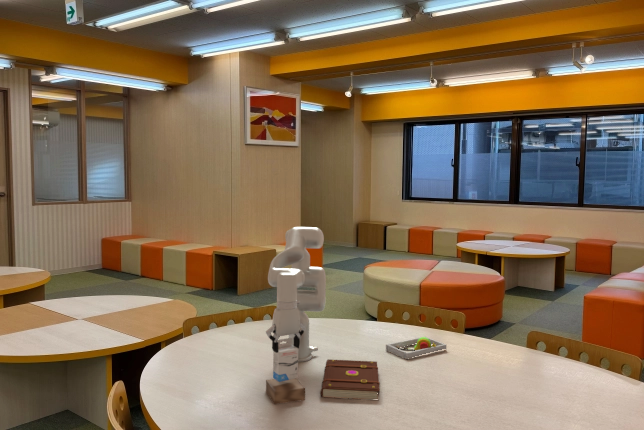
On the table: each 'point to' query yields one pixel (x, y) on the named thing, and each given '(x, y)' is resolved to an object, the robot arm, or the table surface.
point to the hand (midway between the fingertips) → (285, 349)
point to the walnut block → (285, 390)
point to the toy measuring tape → (421, 344)
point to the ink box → (285, 361)
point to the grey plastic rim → (394, 350)
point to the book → (350, 379)
